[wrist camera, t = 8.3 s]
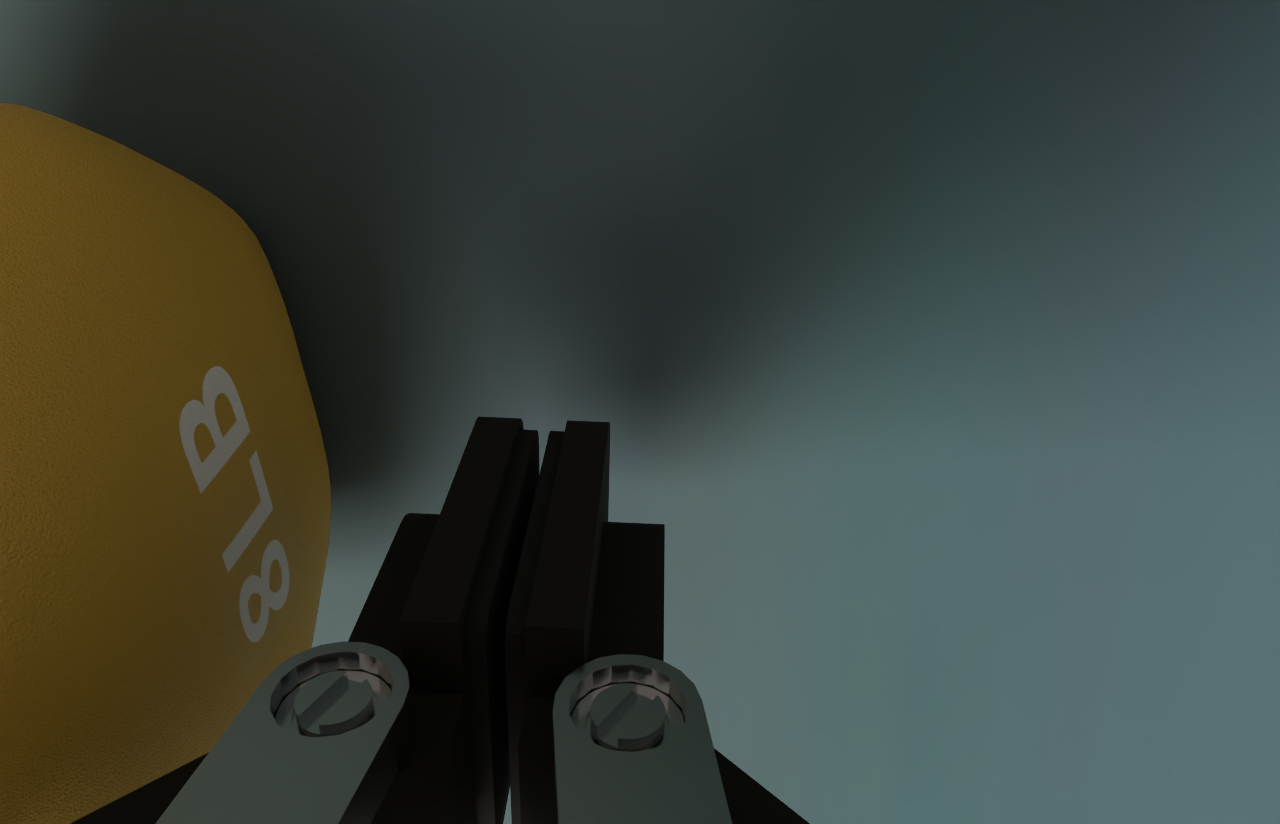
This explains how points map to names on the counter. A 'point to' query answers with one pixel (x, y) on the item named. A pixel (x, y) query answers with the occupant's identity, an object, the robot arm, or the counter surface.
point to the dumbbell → (140, 471)
